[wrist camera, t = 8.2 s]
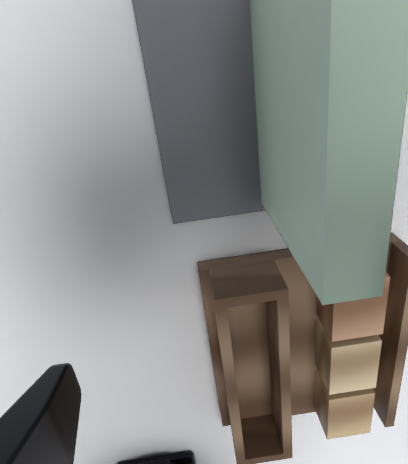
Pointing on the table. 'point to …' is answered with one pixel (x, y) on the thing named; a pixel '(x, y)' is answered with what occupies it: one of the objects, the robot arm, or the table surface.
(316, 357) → the offcut
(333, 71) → the green rectangular block
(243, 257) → the rack
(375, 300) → the offcut
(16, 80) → the table surface
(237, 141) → the mat
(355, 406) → the offcut
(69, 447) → the robot arm
